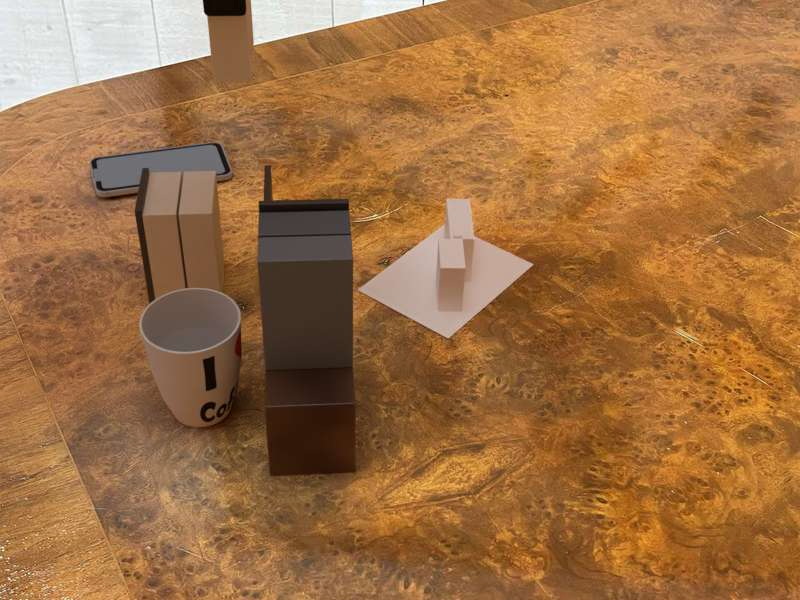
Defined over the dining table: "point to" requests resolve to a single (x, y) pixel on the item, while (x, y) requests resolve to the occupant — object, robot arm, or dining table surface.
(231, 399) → the cup
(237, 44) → the tan rectangular block
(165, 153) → the smartphone
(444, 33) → the dining table surface
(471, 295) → the napkin holder
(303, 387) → the dark brown box
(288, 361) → the grey books
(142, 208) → the slotted desk organizer
